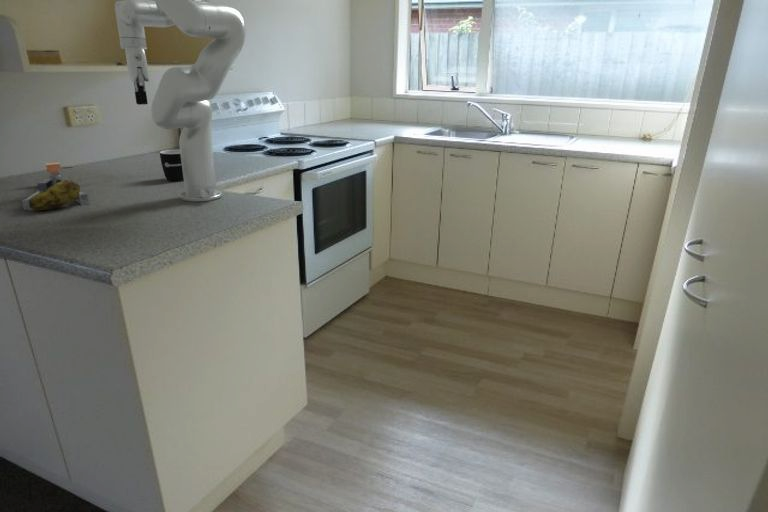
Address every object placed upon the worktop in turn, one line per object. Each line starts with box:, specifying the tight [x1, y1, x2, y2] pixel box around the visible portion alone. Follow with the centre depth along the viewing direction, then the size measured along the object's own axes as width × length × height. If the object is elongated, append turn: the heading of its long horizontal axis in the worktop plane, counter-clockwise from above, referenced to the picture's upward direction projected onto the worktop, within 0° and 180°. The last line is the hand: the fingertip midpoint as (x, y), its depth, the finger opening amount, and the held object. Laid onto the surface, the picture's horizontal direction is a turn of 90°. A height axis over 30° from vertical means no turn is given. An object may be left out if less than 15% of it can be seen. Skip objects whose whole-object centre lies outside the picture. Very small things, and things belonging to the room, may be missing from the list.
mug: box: [159, 149, 184, 183], centre depth 188 cm, size 12×9×10 cm
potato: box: [29, 180, 81, 212], centre depth 151 cm, size 8×13×8 cm, turn 109°
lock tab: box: [45, 162, 62, 173], centre depth 177 cm, size 3×4×2 cm
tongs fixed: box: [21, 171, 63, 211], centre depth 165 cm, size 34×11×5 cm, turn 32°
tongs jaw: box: [55, 176, 91, 206], centre depth 164 cm, size 23×2×5 cm, turn 47°
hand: (142, 104), depth 172 cm, fingers closed
